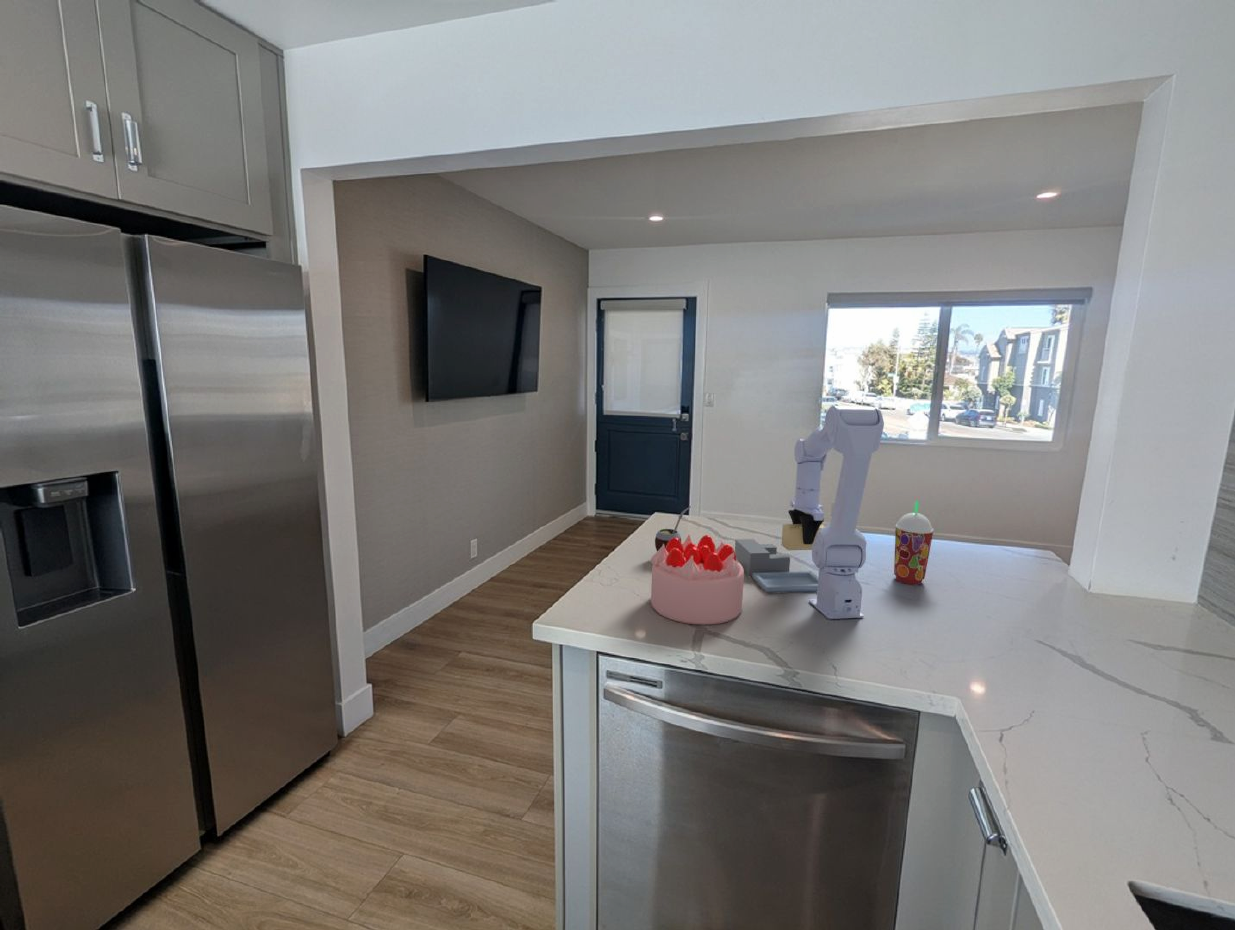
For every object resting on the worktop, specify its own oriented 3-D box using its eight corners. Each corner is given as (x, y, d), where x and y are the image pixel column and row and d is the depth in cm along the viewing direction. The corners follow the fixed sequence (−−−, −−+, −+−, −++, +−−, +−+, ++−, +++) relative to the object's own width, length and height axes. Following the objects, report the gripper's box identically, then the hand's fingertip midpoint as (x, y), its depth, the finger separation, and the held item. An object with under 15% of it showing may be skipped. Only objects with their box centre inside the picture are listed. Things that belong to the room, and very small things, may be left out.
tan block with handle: (829, 549, 146) (831, 528, 145) (788, 550, 144) (789, 528, 143) (821, 544, 150) (823, 523, 149) (781, 545, 148) (782, 524, 147)
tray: (827, 591, 137) (828, 585, 136) (766, 593, 135) (767, 587, 134) (810, 576, 146) (810, 571, 145) (752, 578, 144) (752, 573, 143)
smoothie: (919, 575, 148) (927, 498, 144) (933, 587, 140) (942, 506, 136) (885, 573, 149) (892, 497, 145) (897, 586, 141) (905, 505, 137)
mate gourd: (648, 559, 156) (650, 505, 154) (669, 553, 162) (670, 500, 159) (669, 567, 151) (671, 510, 148) (689, 560, 156) (691, 506, 154)
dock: (788, 575, 147) (790, 552, 146) (749, 576, 145) (750, 553, 144) (771, 559, 158) (772, 538, 157) (734, 561, 156) (735, 539, 155)
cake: (748, 628, 117) (752, 560, 114) (648, 623, 118) (650, 556, 116) (735, 590, 136) (738, 532, 134) (649, 587, 137) (651, 529, 135)
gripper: (837, 494, 138) (832, 549, 140) (809, 482, 152) (806, 532, 154) (809, 494, 137) (804, 550, 139) (784, 482, 151) (780, 533, 153)
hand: (803, 541), depth 147 cm, fingers closed on tan block with handle, 4 cm apart
